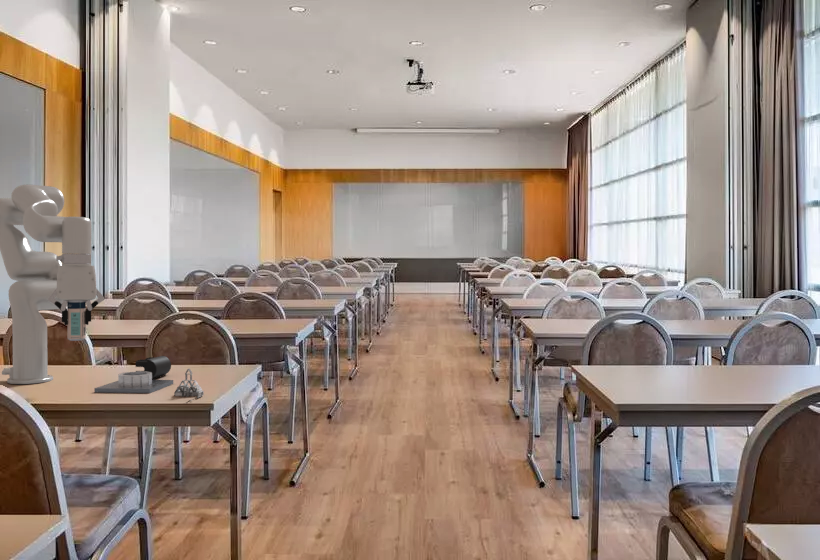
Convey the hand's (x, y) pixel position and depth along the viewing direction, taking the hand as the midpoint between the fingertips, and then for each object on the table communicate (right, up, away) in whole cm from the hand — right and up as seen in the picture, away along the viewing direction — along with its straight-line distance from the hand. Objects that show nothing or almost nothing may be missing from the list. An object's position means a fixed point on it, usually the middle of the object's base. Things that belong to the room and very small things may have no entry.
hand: (76, 323), depth 199 cm
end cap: (+13, -19, +23) cm, 33 cm away
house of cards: (+33, -20, -8) cm, 39 cm away
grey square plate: (+15, -19, +5) cm, 25 cm away
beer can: (0, -5, 0) cm, 5 cm away
